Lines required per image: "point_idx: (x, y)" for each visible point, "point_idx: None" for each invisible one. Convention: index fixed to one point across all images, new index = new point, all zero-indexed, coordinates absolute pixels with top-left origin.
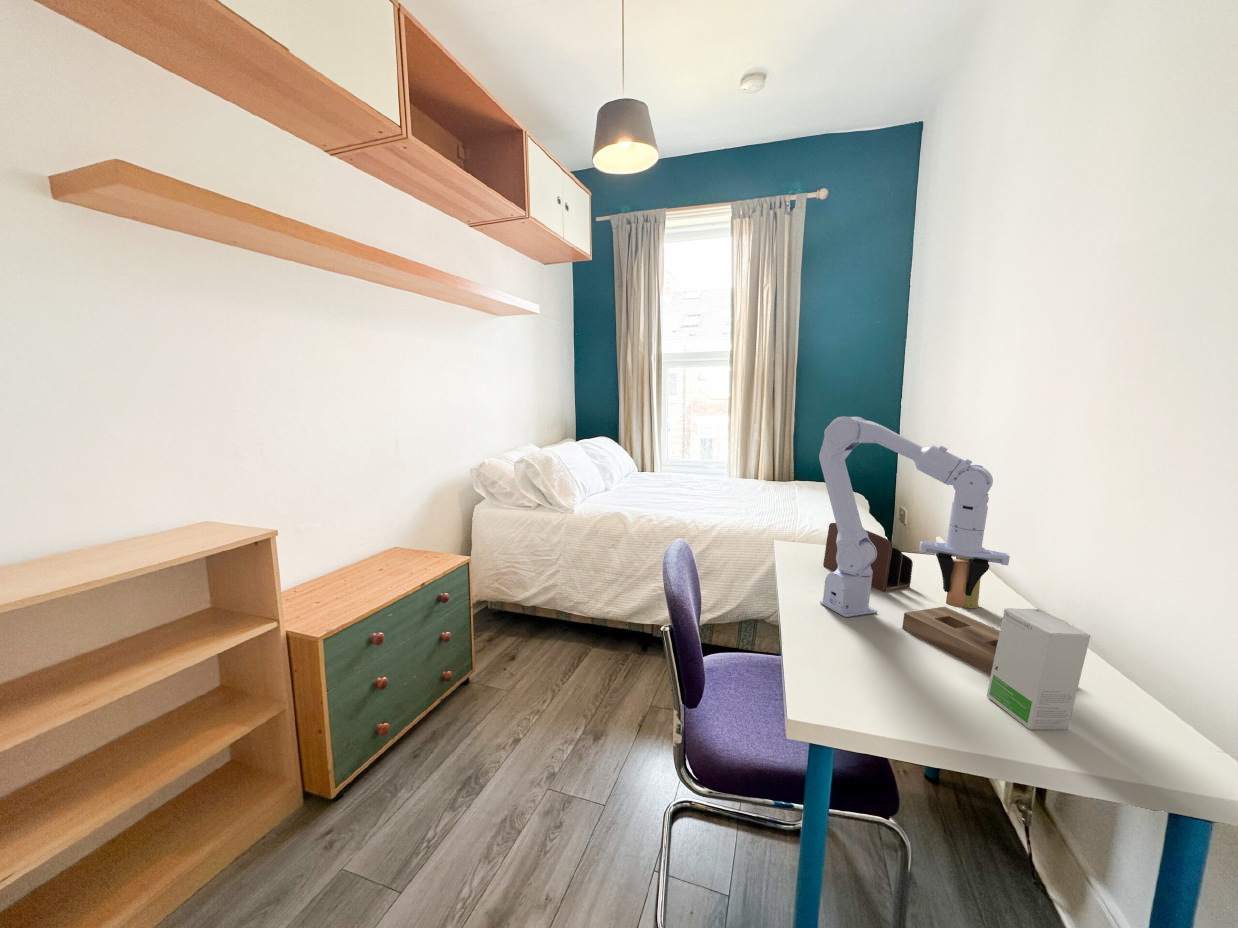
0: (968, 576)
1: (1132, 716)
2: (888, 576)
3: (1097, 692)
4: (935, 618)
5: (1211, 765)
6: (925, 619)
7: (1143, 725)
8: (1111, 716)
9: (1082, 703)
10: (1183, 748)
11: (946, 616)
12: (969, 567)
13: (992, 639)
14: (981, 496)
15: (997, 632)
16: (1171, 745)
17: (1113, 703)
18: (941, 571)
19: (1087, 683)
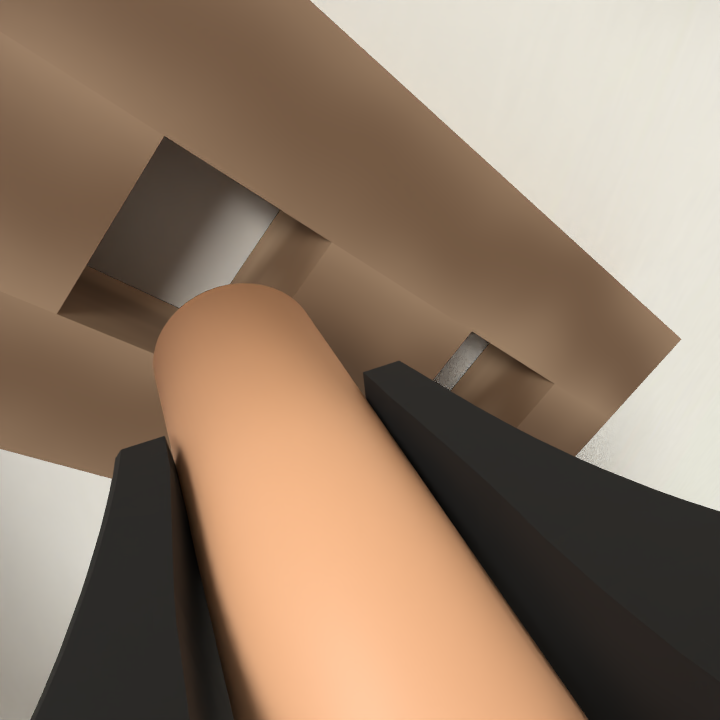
0: (498, 563)
1: (686, 415)
2: None
3: (676, 328)
4: (67, 292)
5: (712, 506)
6: (4, 392)
7: (683, 443)
8: (630, 459)
9: (590, 446)
10: (704, 482)
11: (143, 166)
12: (608, 699)
13: (427, 374)
14: None
15: (481, 232)
16: (686, 489)
17: (681, 373)
18: (58, 681)
19: (683, 275)
